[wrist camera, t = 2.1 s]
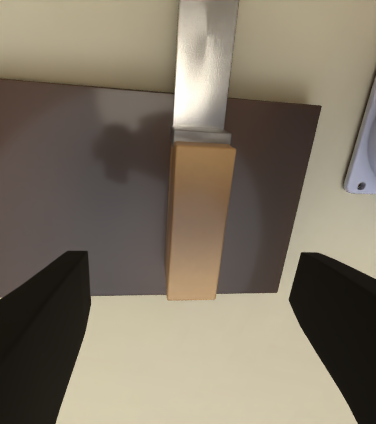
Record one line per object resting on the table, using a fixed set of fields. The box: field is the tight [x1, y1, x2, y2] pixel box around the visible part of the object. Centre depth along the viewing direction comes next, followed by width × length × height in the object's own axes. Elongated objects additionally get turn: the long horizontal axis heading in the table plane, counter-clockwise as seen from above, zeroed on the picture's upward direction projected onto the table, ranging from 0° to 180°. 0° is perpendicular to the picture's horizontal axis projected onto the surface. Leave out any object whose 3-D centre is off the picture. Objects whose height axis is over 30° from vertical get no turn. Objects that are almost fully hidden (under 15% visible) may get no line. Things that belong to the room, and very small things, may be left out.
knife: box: [165, 0, 239, 300], centre depth 13 cm, size 18×3×3 cm, turn 175°
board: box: [0, 79, 321, 297], centre depth 16 cm, size 21×12×2 cm, turn 85°
